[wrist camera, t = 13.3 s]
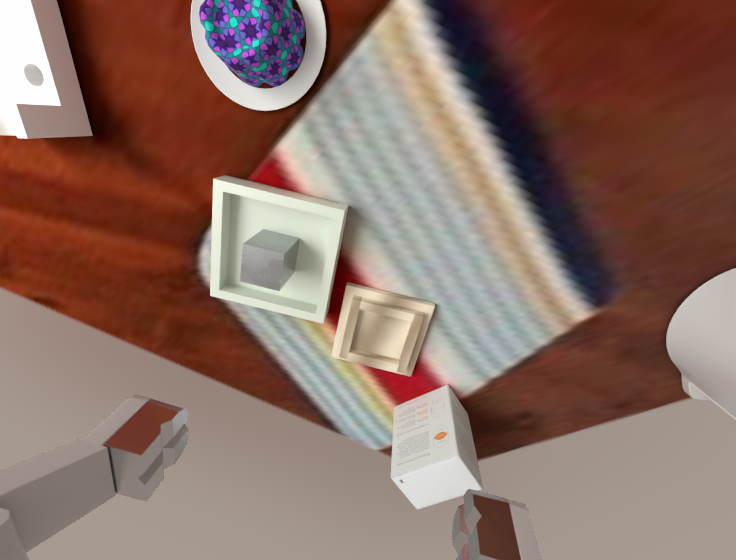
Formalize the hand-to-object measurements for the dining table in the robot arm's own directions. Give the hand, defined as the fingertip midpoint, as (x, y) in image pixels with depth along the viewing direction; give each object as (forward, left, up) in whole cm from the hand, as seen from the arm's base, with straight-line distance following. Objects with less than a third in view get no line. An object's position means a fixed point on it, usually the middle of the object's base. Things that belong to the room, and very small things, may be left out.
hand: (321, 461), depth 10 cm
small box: (-12, +23, -29) cm, 39 cm away
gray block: (+10, +6, -28) cm, 31 cm away
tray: (+10, +6, -29) cm, 31 cm away
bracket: (+35, -7, -29) cm, 46 cm away
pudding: (+14, -13, -29) cm, 35 cm away
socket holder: (-3, +13, -29) cm, 32 cm away
